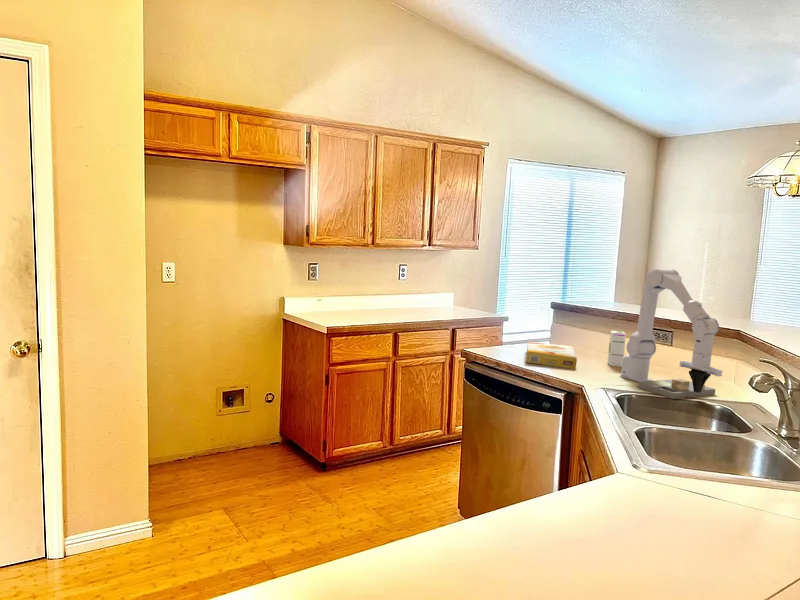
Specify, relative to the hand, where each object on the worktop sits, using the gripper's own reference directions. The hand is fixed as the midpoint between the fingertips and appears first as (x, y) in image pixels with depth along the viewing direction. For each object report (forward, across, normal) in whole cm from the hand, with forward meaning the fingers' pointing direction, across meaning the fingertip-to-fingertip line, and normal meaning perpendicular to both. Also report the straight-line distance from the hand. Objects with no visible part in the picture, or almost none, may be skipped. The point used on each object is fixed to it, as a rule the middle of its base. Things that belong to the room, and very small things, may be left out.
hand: (697, 391), depth 203 cm
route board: (+3, +10, -3) cm, 11 cm away
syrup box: (+3, +49, -15) cm, 51 cm away
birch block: (+1, +7, 0) cm, 7 cm away
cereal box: (+3, +64, +8) cm, 65 cm away
